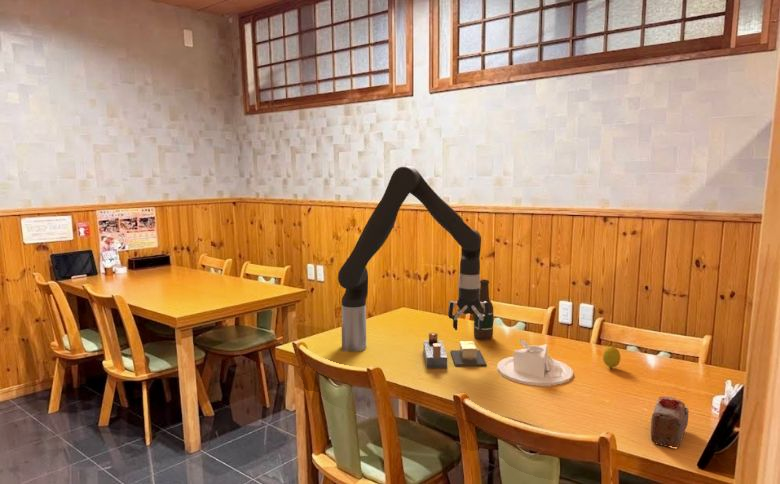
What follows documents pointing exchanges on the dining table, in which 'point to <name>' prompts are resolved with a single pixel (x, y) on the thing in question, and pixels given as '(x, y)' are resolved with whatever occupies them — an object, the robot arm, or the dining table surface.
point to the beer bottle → (487, 329)
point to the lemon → (611, 357)
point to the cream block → (468, 351)
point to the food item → (669, 421)
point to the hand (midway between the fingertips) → (467, 329)
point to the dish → (534, 367)
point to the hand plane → (435, 353)
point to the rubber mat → (459, 362)
